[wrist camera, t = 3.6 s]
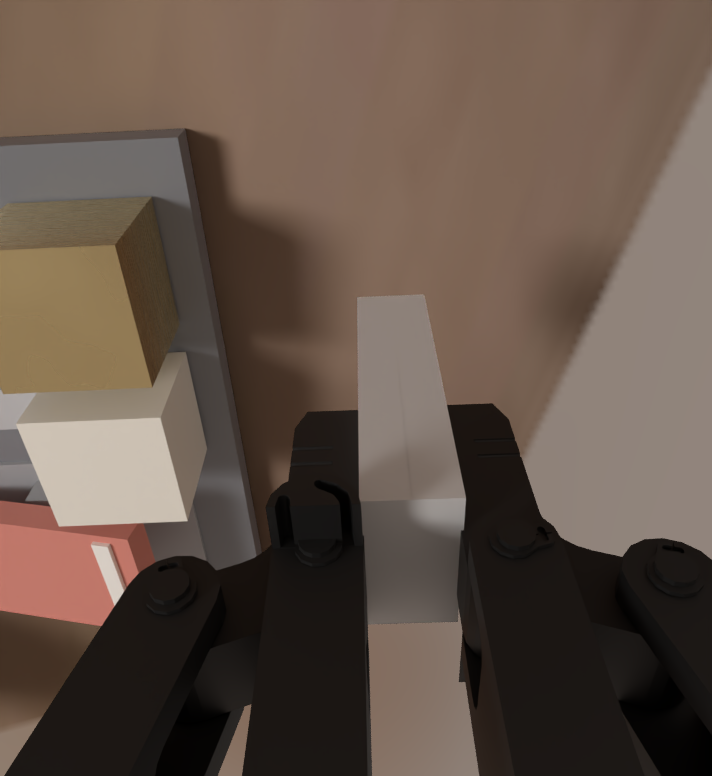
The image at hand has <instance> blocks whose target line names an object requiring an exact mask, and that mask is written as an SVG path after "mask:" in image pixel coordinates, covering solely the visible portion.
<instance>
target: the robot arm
mask: <svg viewBox="0 0 712 776" xmlns="http://www.w3.org/2000/svg"><path fill="white" fill-rule="evenodd" d="M357 328H358V410H349V411H321V412H307V414H306V415H305V416H304V418H303V419H302V420H301V421H300V423H299V424H298V425H297V427H296V428H295V432H294V440H293V451H292V456H291V467H290V472H289V480H288V482H286V483H284V484H282V485H281V486H280V487H279V488H278V489H277V490H275V491H274V492H273V493H272V494H271V496H270V498H269V501H268V503H267V505H266V512H267V519H268V525H269V531H270V537H271V543H272V545H271V546H270V547H269V548H268V549H267V550H266V551H264V552H262V553H261V554H259V555H258V556H256V557H255V558H252V559H250V560H247V561H245V562H242V563H240V564H236V565H233V566H230V567H226V568H223V569H220V570H215V569H214V568H213V566H212V565H211V564H210V563H209V562H208V561H205V560H203V559H200V558H197V557H194V556H173V557H170V558H166V559H163V560H159V561H157V562H155V563H153V564H152V565H150V566H148V567H147V568H145V569H143V570H142V571H140V573H139V574H138V575H137V576H136V577H135V578H134V579H133V580H132V581H131V582H130V583H129V585H128V586H127V588H126V589H125V591H124V592H123V594H122V595H121V597H120V598H119V600H118V601H117V603H116V605H115V606H114V608H113V609H112V611H111V612H110V614H109V615H108V617H107V618H106V620H105V621H104V623H103V625H102V626H101V628H100V629H99V631H98V632H97V634H96V635H95V637H94V638H93V640H92V641H91V643H90V645H89V646H88V648H87V649H86V651H85V652H84V654H83V655H82V657H81V658H80V660H79V661H78V663H77V665H76V666H75V668H74V669H73V671H72V672H71V674H70V675H69V677H68V678H67V680H66V681H65V683H64V685H63V686H62V688H61V689H60V691H59V692H58V694H57V695H56V697H55V698H54V700H53V701H52V703H51V705H50V706H49V708H48V709H47V711H46V712H45V714H44V715H43V717H42V718H41V720H40V721H39V723H38V725H37V726H36V728H35V729H34V731H33V732H32V734H31V735H30V737H29V739H28V740H27V742H26V743H25V745H24V746H23V748H22V749H21V751H20V752H19V754H18V755H17V757H16V758H15V760H14V762H13V763H12V765H11V766H10V768H9V769H8V771H7V772H6V774H5V776H218V773H219V771H220V768H221V766H222V763H223V761H224V758H225V756H226V753H227V751H228V748H229V746H230V743H231V740H232V738H233V735H234V733H235V730H236V728H237V725H238V722H239V720H240V717H241V715H242V712H243V710H244V706H247V705H250V704H252V705H251V714H250V721H249V728H248V736H247V743H246V751H245V758H244V765H243V773H242V776H372V760H371V719H370V679H369V648H368V624H397V623H432V622H457V621H458V609H459V612H460V617H461V624H462V630H463V634H462V647H461V661H460V674H459V682H466V689H467V696H468V703H469V709H470V715H471V723H472V729H473V736H474V743H475V749H476V756H477V762H478V769H479V776H712V560H711V559H710V558H709V557H707V556H706V555H705V554H704V553H702V552H701V551H699V550H697V549H695V548H693V547H691V546H689V545H686V544H684V543H682V542H677V541H673V540H668V539H662V538H661V539H644V540H642V541H640V542H638V543H636V544H633V545H631V546H630V547H629V549H628V550H627V552H626V553H625V554H624V556H623V557H620V556H615V555H611V554H606V553H601V552H597V551H592V550H589V549H586V548H582V547H578V546H576V545H574V544H572V543H570V542H568V541H566V540H564V539H562V538H561V537H560V536H559V535H558V533H557V531H556V529H555V528H554V526H552V525H551V524H550V523H549V522H547V521H546V520H545V519H543V518H542V516H541V514H540V512H539V509H538V506H537V503H536V500H535V497H534V494H533V492H532V488H531V485H530V482H529V479H528V476H527V473H526V470H525V467H524V464H523V461H522V458H521V457H520V452H519V449H518V446H517V443H516V441H515V437H514V434H513V431H512V428H511V425H510V422H509V419H508V418H507V417H506V416H505V415H504V414H503V413H502V412H501V411H500V410H499V409H497V408H496V407H495V406H494V405H493V404H465V405H447V403H446V398H445V393H444V389H443V384H442V379H441V374H440V369H439V364H438V359H437V355H436V350H435V345H434V340H433V335H432V330H431V325H430V321H429V316H428V311H427V306H426V301H425V296H424V295H399V296H374V297H357Z"/></svg>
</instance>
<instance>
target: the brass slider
mask: <svg viewBox="0 0 712 776" xmlns="http://www.w3.org/2000/svg"><path fill="white" fill-rule="evenodd" d="M179 325H180V324H179V319H178V314H177V310H176V305H175V301H174V296H173V292H172V287H171V283H170V278H169V274H168V269H167V265H166V260H165V256H164V251H163V246H162V242H161V237H160V233H159V228H158V224H157V219H156V215H155V210H154V206H153V201H152V197H133V198H112V199H91V200H70V201H49V202H28V203H8V204H6V205H5V206H4V207H2V208H1V209H0V388H1V390H2V393H3V394H19V393H42V392H64V391H87V390H110V389H132V388H152V387H153V385H154V383H155V380H156V378H157V376H158V373H159V371H160V369H161V366H162V364H163V362H164V359H165V357H166V355H167V352H168V350H169V348H170V346H171V343H172V341H173V339H174V336H175V334H176V332H177V329H178V327H179Z"/></svg>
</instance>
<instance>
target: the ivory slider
mask: <svg viewBox="0 0 712 776" xmlns="http://www.w3.org/2000/svg"><path fill="white" fill-rule="evenodd" d="M16 426H17V428H18V431H19V433H20V435H21V438H22V440H23V442H24V445H25V447H26V450H27V452H28V454H29V457H30V459H31V461H32V464H33V466H34V469H35V471H36V473H37V476H38V478H39V480H40V483H41V485H42V487H43V490H44V492H45V495H46V497H47V499H48V502H49V504H50V506H51V509H52V511H53V514H54V516H55V518H56V521H57V523H58V525H59V527H61V526H85V525H109V524H133V523H157V522H181V521H188V518H189V514H190V510H191V507H192V503H193V499H194V496H195V492H196V488H197V485H198V481H199V477H200V473H201V470H202V466H203V462H204V459H205V455H206V451H207V446H206V441H205V437H204V432H203V428H202V423H201V419H200V414H199V410H198V405H197V401H196V396H195V392H194V387H193V382H192V378H191V373H190V369H189V364H188V360H187V355H186V352H172V353H167V355H166V357H165V359H164V362H163V364H162V366H161V369H160V371H159V373H158V376H157V378H156V380H155V383H154V385H153V387H152V388H132V389H110V390H87V391H64V392H42V393H37V394H36V395H35V396H34V398H33V399H32V401H31V402H30V404H29V405H28V407H27V408H26V410H25V411H24V413H23V414H22V416H21V417H20V418H19V420H18V421H17V423H16Z"/></svg>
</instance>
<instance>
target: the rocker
mask: <svg viewBox="0 0 712 776" xmlns="http://www.w3.org/2000/svg"><path fill="white" fill-rule="evenodd" d="M153 563H155V558H154V555H153V552H152V549H151V546H150V543H149V540H148V536H147V533H146V530H145V527H144V524H143V523H133V524H109V525H85V526H61V527H59V525H58V523H57V521H56V518H55V516H54V514H53V511H52V509H51V507H50V506H41V505H33V504H25V503H16V502H8V501H0V610H1V611H7V612H14V613H20V614H27V615H33V616H39V617H46V618H52V619H59V620H65V621H72V622H78V623H85V624H91V625H98V626H102V625H103V623H104V621H105V620H106V618H107V617H108V615H109V614H110V612H111V611H112V609H113V608H114V606H115V605H116V603H117V601H118V600H119V598H120V597H121V595H122V594H123V592H124V591H125V589H126V588H127V586H128V585H129V583H130V582H131V581H132V580H133V579H134V578H135V577H136V576H137V575H138V574H139V573H140V571H142V570H143V569H145V568H147V567H148V566H150V565H152V564H153Z"/></svg>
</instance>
